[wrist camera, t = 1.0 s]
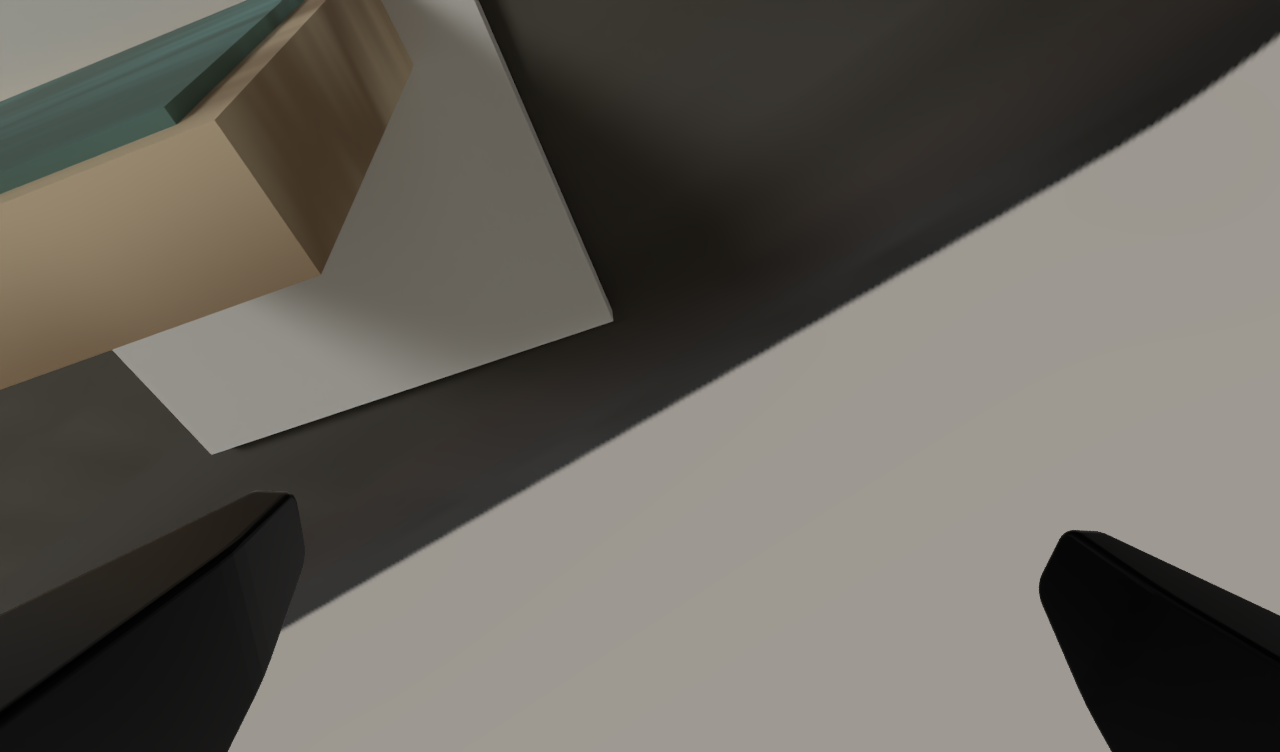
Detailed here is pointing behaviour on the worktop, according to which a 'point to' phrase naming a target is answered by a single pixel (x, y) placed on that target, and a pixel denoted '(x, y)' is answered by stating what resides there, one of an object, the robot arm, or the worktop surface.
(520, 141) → the mat
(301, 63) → the plaque
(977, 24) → the worktop surface
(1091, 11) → the worktop surface
